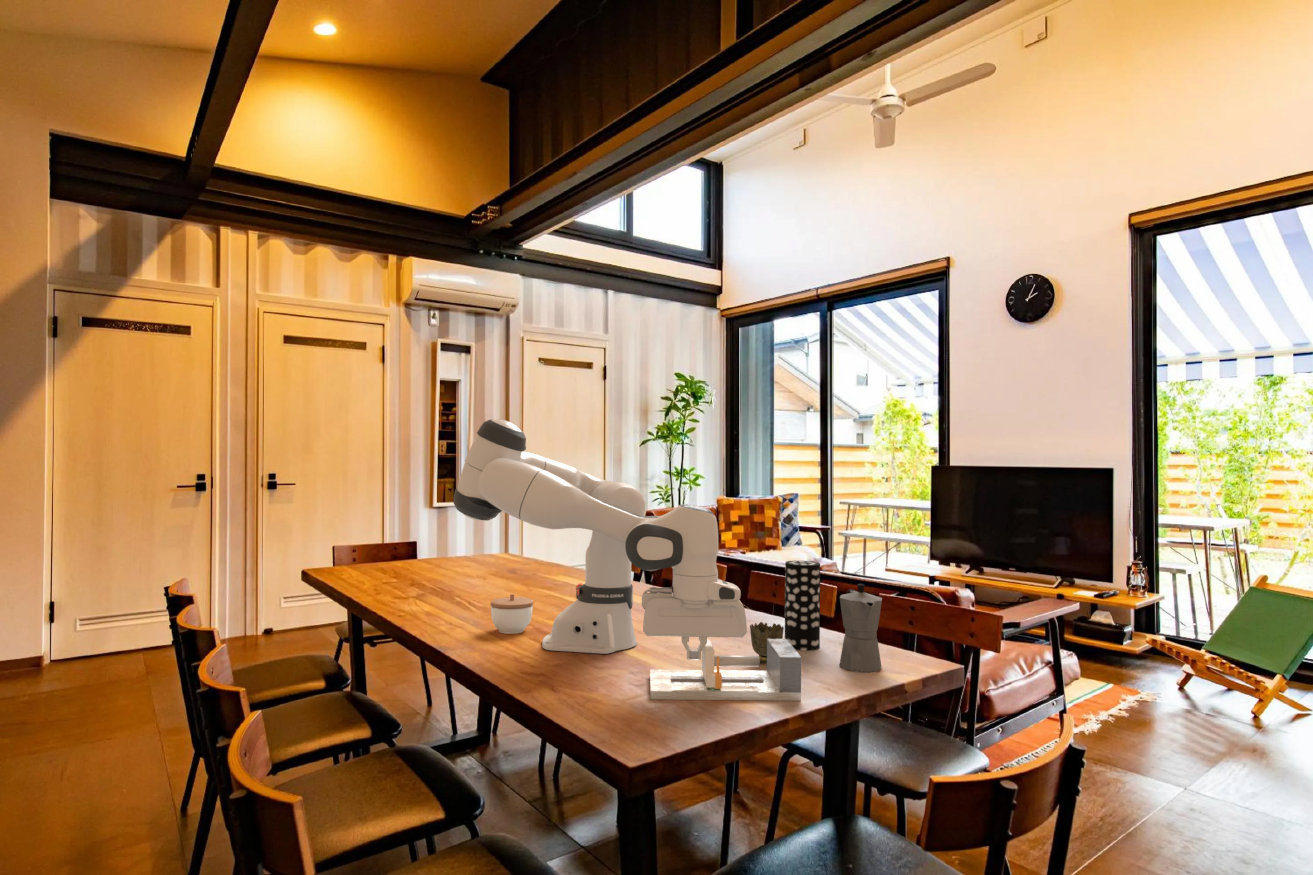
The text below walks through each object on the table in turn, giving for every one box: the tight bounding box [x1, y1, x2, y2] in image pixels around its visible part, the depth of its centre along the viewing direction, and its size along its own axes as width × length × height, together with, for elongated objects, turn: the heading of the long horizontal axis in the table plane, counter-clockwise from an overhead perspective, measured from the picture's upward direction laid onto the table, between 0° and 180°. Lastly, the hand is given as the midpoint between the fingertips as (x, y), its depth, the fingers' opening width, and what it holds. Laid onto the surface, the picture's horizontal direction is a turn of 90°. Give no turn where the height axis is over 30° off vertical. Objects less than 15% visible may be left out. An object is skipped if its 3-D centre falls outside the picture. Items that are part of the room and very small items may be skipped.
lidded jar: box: [490, 593, 534, 635], centre depth 187 cm, size 11×11×9 cm
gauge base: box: [649, 638, 802, 702], centre depth 142 cm, size 28×14×8 cm, turn 91°
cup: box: [749, 621, 785, 664], centre depth 162 cm, size 8×7×8 cm
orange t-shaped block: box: [714, 656, 722, 689], centre depth 137 cm, size 1×2×6 cm, turn 1°
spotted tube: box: [784, 560, 821, 652], centre depth 176 cm, size 8×8×20 cm
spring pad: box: [701, 639, 761, 687], centre depth 141 cm, size 11×12×6 cm
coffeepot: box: [839, 583, 883, 674], centre depth 160 cm, size 15×9×18 cm, turn 2°
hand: (693, 659), depth 142 cm, fingers closed
